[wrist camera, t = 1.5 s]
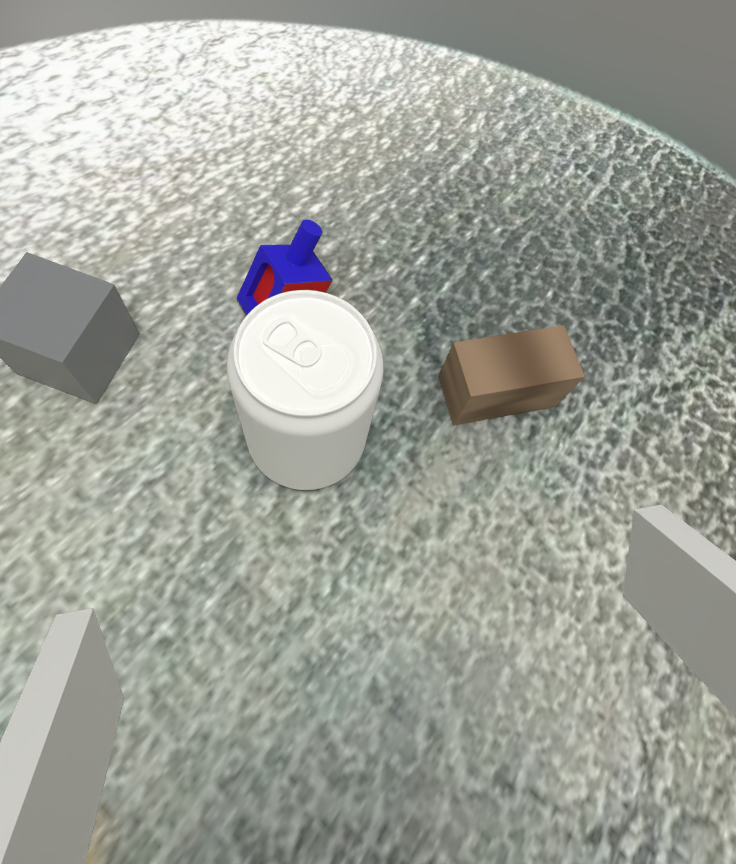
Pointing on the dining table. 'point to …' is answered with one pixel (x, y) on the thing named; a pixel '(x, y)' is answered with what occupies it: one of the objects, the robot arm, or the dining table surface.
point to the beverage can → (305, 386)
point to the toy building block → (285, 269)
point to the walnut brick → (509, 374)
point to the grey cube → (63, 327)
